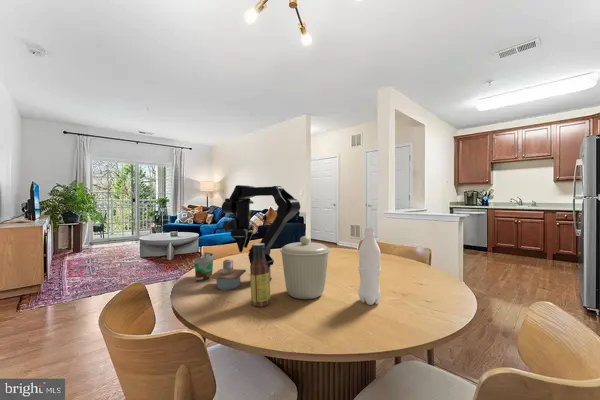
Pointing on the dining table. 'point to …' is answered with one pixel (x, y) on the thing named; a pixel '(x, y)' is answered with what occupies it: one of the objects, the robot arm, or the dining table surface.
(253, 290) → the sauce bottle
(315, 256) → the canister
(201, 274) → the food container
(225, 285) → the bowl
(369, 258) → the water bottle
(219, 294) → the dining table surface
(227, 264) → the lid
